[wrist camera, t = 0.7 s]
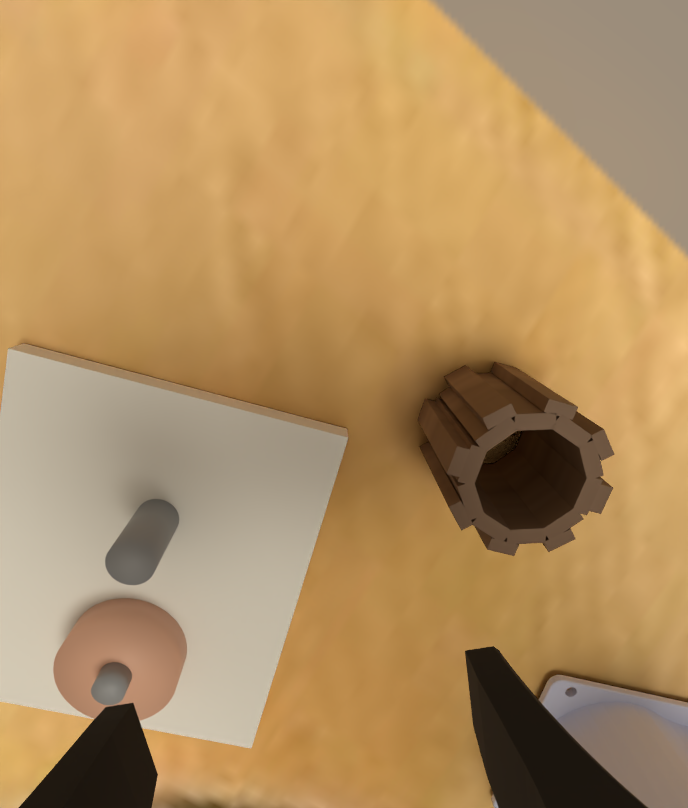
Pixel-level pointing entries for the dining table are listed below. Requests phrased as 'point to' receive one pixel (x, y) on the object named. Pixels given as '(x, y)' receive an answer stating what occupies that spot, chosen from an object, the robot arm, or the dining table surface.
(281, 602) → the gear board
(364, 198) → the dining table surface
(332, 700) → the dining table surface
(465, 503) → the walnut pinion gear
